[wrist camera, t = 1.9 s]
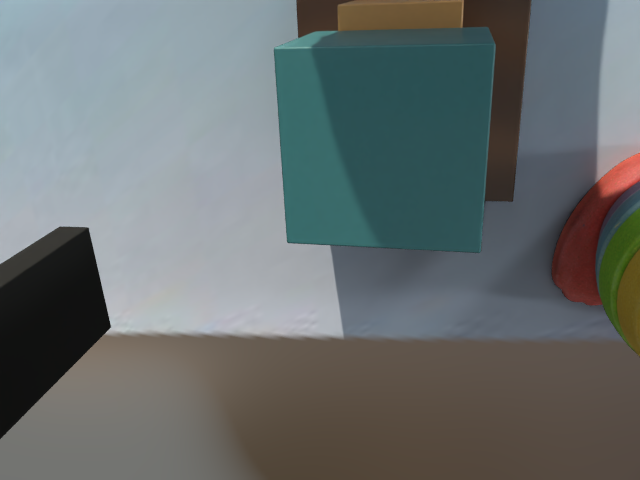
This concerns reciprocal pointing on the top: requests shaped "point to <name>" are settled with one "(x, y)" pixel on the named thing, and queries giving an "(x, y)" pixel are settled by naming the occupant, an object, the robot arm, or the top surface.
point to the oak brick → (400, 14)
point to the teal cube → (386, 137)
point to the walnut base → (509, 70)
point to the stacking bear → (605, 250)
